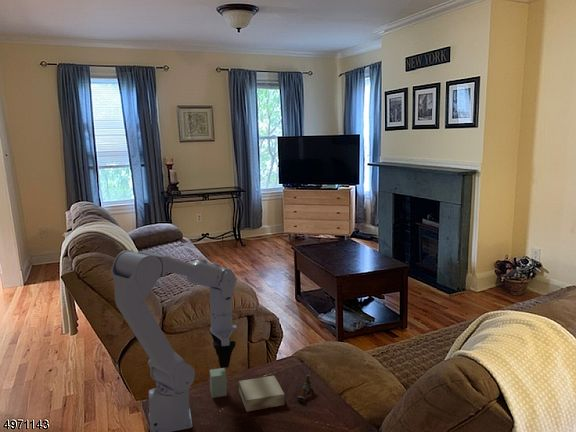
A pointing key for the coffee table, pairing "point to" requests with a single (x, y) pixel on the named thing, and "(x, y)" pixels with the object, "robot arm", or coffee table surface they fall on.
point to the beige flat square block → (261, 393)
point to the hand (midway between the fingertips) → (222, 360)
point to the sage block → (218, 382)
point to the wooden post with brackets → (305, 389)
